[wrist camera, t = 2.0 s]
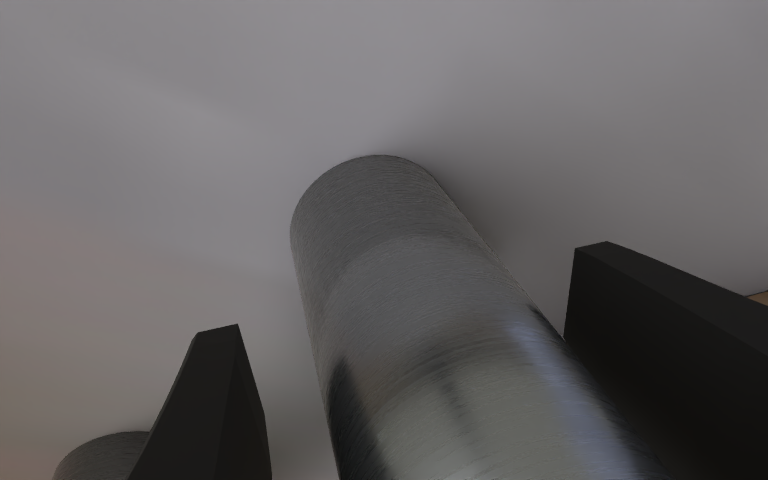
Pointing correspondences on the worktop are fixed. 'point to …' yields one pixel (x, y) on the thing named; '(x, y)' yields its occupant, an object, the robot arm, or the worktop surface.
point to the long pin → (440, 344)
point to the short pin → (102, 458)
